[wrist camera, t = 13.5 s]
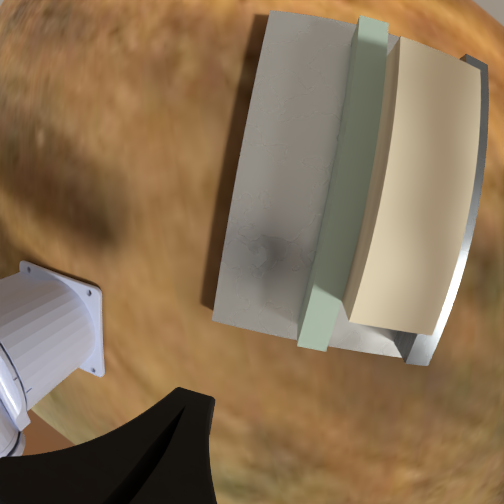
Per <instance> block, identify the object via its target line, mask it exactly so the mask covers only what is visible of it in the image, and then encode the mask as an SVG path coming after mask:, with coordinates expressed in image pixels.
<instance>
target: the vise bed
mask: <svg viewBox="0 0 504 504" xmlns="http://www.w3.org/2000/svg"><path fill="white" fill-rule="evenodd" d="M355 28H356V25H355V24H351V23H347V22H342V21H337V20H333V19H327V18H322V17H317V16H311V15H304V14H297V13H290V12H281V11H272V10H270V14H269V18H268V23H267V27H266V31H265V36H264V40H263V45H262V50H261V54H260V59H259V63H258V68H257V73H256V78H255V82H254V87H253V92H252V97H251V102H250V107H249V112H248V117H247V122H246V127H245V132H244V137H243V142H242V147H241V153H240V158H239V163H238V169H237V174H236V179H235V185H234V190H233V196H232V202H231V207H230V213H229V219H228V224H227V230H226V236H225V242H224V248H223V254H222V260H221V266H220V272H219V279H218V285H217V291H216V298H215V304H214V311H213V317H212V321H215V322H219V323H223V324H227V325H231V326H236V327H240V328H244V329H248V330H253V331H257V332H262V333H266V334H271V335H275V336H280V337H285V338H289V339H294V340H297V325H298V321H299V317H300V314H301V310H302V306H303V302H304V298H305V294H306V290H307V286H308V282H309V278H310V274H311V270H312V266H313V261H314V257H315V253H316V248H317V244H318V240H319V235H320V231H321V226H322V221H323V217H324V212H325V207H326V202H327V197H328V192H329V187H330V182H331V177H332V172H333V166H334V161H335V155H336V150H337V144H338V138H339V132H340V126H341V120H342V114H343V107H344V100H345V94H346V86H347V79H348V72H349V64H350V56H351V47H352V38H353V34H354V31H355ZM399 38H400V37H397V36H394V35H391V34H388V43H387V56H388V54H389V53H390V51H391V50H392V48H393V47H394V45H395V44H396V42H397V41H398V39H399ZM459 60H461V61H463V62H466V63H468V64H470V65H472V66H474V67H476V68H478V69H480V78H481V109H480V131H479V144H478V155H477V164H476V172H475V179H474V186H473V192H472V198H471V203H470V209H469V214H468V219H467V224H466V228H465V233H464V237H463V241H462V245H461V249H460V253H459V257H458V260H457V264H456V268H455V271H454V274H453V278H452V281H451V284H450V287H449V291H448V294H447V297H446V300H445V302H444V305H443V308H442V311H441V314H440V317H439V319H438V322H437V325H436V327H435V330H434V332H433V335H432V336H430V335H424V334H417V333H411V332H404V331H398V330H392V329H386V328H381V327H375V326H369V325H364V324H358V323H353V322H349V321H348V318H347V315H346V312H345V309H344V307H343V304H342V301H341V304H340V308H339V311H338V314H337V318H336V321H335V324H334V328H333V331H332V334H331V337H330V340H329V343H328V346H331V347H337V348H342V349H348V350H354V351H360V352H367V353H373V354H380V355H387V356H394V357H402V358H403V360H404V362H405V363H406V364H414V365H423V366H428V364H429V362H430V360H431V357H432V355H433V353H434V351H435V348H436V346H437V344H438V341H439V339H440V336H441V334H442V331H443V329H444V326H445V324H446V321H447V318H448V316H449V313H450V310H451V308H452V305H453V302H454V299H455V296H456V293H457V290H458V287H459V284H460V280H461V277H462V274H463V270H464V267H465V263H466V260H467V256H468V252H469V248H470V244H471V240H472V236H473V231H474V227H475V222H476V217H477V212H478V207H479V201H480V195H481V189H482V183H483V175H484V167H485V158H486V148H487V134H488V110H489V88H488V65H487V64H485V63H483V62H481V61H479V60H477V59H475V58H473V57H471V56H469V55H467V54H465V55H464V56H463V57H461V58H460V59H459Z"/></svg>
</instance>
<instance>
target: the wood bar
mask: <svg viewBox="0 0 504 504" xmlns="http://www.w3.org/2000/svg"><path fill="white" fill-rule="evenodd" d="M480 109H481V78H480V69H478V68H476V67H474V66H472V65H470V64H468V63H466V62H463V61H461V60H459V59H457V58H455V57H453V56H450V55H448V54H446V53H444V52H441V51H439V50H436V49H434V48H431V47H429V46H426V45H424V44H421V43H418V42H416V41H413V40H410V39H407V38H404V37H401V36H400V38H399V39H398V41H397V42H396V44H395V45H394V47H393V48H392V50H391V51H390V53H389V54H388V56H387V58H386V70H385V81H384V91H383V100H382V108H381V116H380V123H379V130H378V137H377V144H376V150H375V156H374V162H373V168H372V173H371V179H370V184H369V189H368V194H367V199H366V204H365V209H364V214H363V218H362V223H361V227H360V232H359V236H358V240H357V244H356V248H355V252H354V256H353V260H352V264H351V268H350V272H349V276H348V279H347V283H346V287H345V290H344V294H343V297H342V304H343V307H344V309H345V312H346V315H347V318H348V321H349V322H353V323H358V324H364V325H369V326H375V327H381V328H386V329H392V330H398V331H404V332H411V333H417V334H424V335H430V336H432V335H433V332H434V330H435V327H436V325H437V322H438V319H439V317H440V314H441V311H442V308H443V305H444V302H445V300H446V297H447V294H448V291H449V287H450V284H451V281H452V278H453V274H454V271H455V268H456V264H457V260H458V257H459V253H460V249H461V245H462V241H463V237H464V233H465V228H466V224H467V219H468V214H469V209H470V203H471V198H472V192H473V186H474V179H475V172H476V164H477V155H478V144H479V131H480Z"/></svg>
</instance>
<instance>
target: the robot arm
mask: <svg viewBox="0 0 504 504" xmlns="http://www.w3.org/2000/svg"><path fill="white" fill-rule="evenodd" d="M30 269H31V270H30ZM19 270H20V272H19V273H16V274H13V275H11V276H8V277H5V278H3V279H0V504H217V501H216V497H215V492H214V487H213V482H212V475H211V468H210V457H209V435H210V430H211V424H212V418H213V412H214V406H215V399H214V398H213V397H212V396H208V395H204V394H201V393H197V392H194V391H191V390H187V389H184V388H181V387H177V388H175V389H174V390H173V391H172V392H171V393H169V394H168V395H167V396H166V397H164V398H163V399H162V400H160V401H159V402H158V403H156V404H155V405H154V406H152V407H151V408H149V409H148V410H146V411H145V412H144V413H142V414H141V415H139V416H138V417H136V418H134V419H133V420H131V421H129V422H127V423H126V424H124V425H122V426H120V427H119V428H117V429H115V430H113V431H111V432H109V433H107V434H105V435H102V436H100V437H98V438H95V439H93V440H90V441H88V442H85V443H82V444H79V445H76V446H73V447H69V448H66V449H62V450H58V451H53V452H47V453H42V454H36V455H26V456H21V455H22V453H23V450H24V447H25V436H24V433H23V431H22V430H23V429H24V428H25V427H26V426H27V425H28V424H29V423H30V419H29V417H28V415H27V411H28V410H29V409H30V408H32V407H33V406H34V405H35V404H36V403H37V402H38V401H40V400H41V399H42V398H43V397H44V396H45V395H46V394H48V393H49V392H50V391H51V390H52V389H53V388H54V387H56V386H57V385H58V384H59V383H60V382H61V381H63V380H64V379H65V378H66V377H67V376H68V375H70V374H71V373H72V372H73V371H74V370H75V369H77V368H78V367H79V368H81V369H83V370H85V371H87V372H89V373H92V374H94V375H96V376H98V377H102V376H103V375H104V374H105V368H104V353H103V332H102V292H101V290H100V289H99V288H98V287H96V286H93V285H90V284H87V283H84V282H81V281H78V280H75V279H73V278H70V277H67V276H64V275H61V274H59V273H56V272H53V271H51V270H48V269H45V268H43V267H40V266H37V265H35V264H32V263H30V262H27V261H25V260H23V261H21V262H20V264H19ZM89 290H90V291H91V294H90V292H89ZM94 369H95V370H94Z"/></svg>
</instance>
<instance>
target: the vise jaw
mask: <svg viewBox="0 0 504 504" xmlns="http://www.w3.org/2000/svg"><path fill="white" fill-rule="evenodd" d="M387 43H388V23H386V22H383V21H379V20H376V19H372V18H368V17H364V16H361V15H360V16H359V19H358V22H357V25H356V28H355V31H354V34H353V38H352V47H351V56H350V64H349V72H348V79H347V86H346V94H345V100H344V107H343V114H342V120H341V126H340V132H339V138H338V144H337V150H336V155H335V161H334V166H333V172H332V177H331V182H330V187H329V192H328V197H327V202H326V207H325V212H324V217H323V221H322V226H321V231H320V235H319V240H318V244H317V248H316V253H315V257H314V261H313V266H312V270H311V274H310V278H309V282H308V286H307V290H306V294H305V298H304V302H303V306H302V310H301V314H300V317H299V321H298V325H297V346H299V347H305V348H310V349H315V350H320V351H326V349H327V346H328V343H329V340H330V337H331V334H332V331H333V328H334V324H335V321H336V318H337V314H338V311H339V308H340V304H341V301H342V297H343V294H344V290H345V287H346V283H347V279H348V276H349V272H350V268H351V264H352V260H353V256H354V252H355V248H356V244H357V240H358V236H359V232H360V227H361V223H362V218H363V214H364V209H365V204H366V199H367V194H368V189H369V184H370V179H371V173H372V168H373V162H374V156H375V150H376V144H377V137H378V130H379V123H380V116H381V108H382V100H383V91H384V81H385V70H386V58H387Z"/></svg>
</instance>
